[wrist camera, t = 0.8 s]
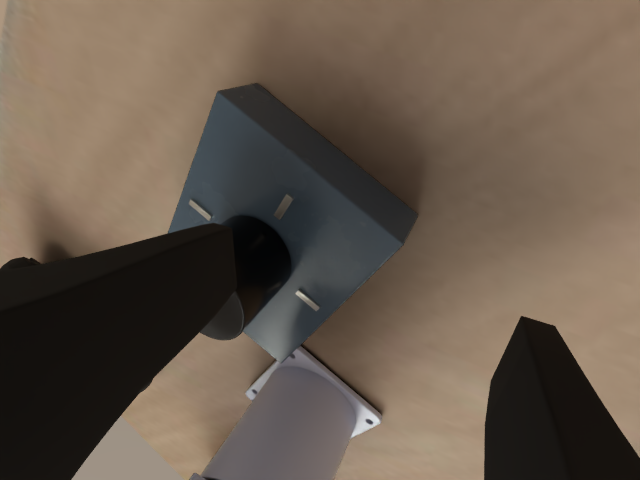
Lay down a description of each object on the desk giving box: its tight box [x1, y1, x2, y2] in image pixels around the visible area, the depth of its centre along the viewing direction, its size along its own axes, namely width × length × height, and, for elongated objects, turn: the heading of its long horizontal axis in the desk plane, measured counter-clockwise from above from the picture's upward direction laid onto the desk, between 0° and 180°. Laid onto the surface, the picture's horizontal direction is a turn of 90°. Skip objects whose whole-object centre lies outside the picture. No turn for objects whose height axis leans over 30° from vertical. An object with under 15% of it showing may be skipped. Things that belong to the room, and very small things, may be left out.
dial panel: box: [168, 83, 418, 363], centre depth 19 cm, size 12×10×3 cm
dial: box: [200, 215, 292, 340], centre depth 17 cm, size 4×4×4 cm
